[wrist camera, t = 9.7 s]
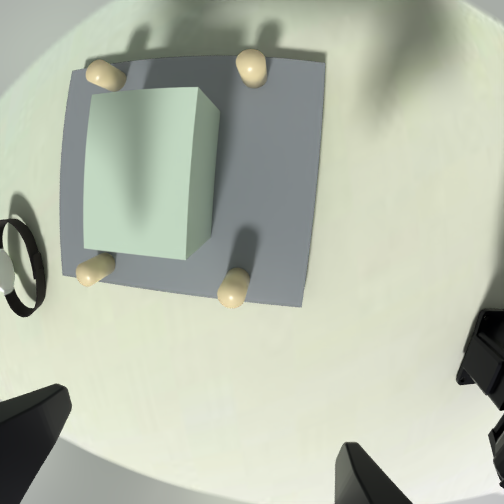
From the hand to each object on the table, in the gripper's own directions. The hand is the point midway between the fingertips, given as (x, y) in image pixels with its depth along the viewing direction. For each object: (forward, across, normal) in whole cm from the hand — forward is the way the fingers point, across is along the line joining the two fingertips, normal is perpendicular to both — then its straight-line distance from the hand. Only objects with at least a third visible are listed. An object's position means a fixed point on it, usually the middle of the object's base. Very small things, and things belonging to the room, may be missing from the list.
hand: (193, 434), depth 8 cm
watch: (+12, +18, 0) cm, 21 cm away
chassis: (+12, +5, -7) cm, 14 cm away
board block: (+10, +5, -7) cm, 13 cm away
